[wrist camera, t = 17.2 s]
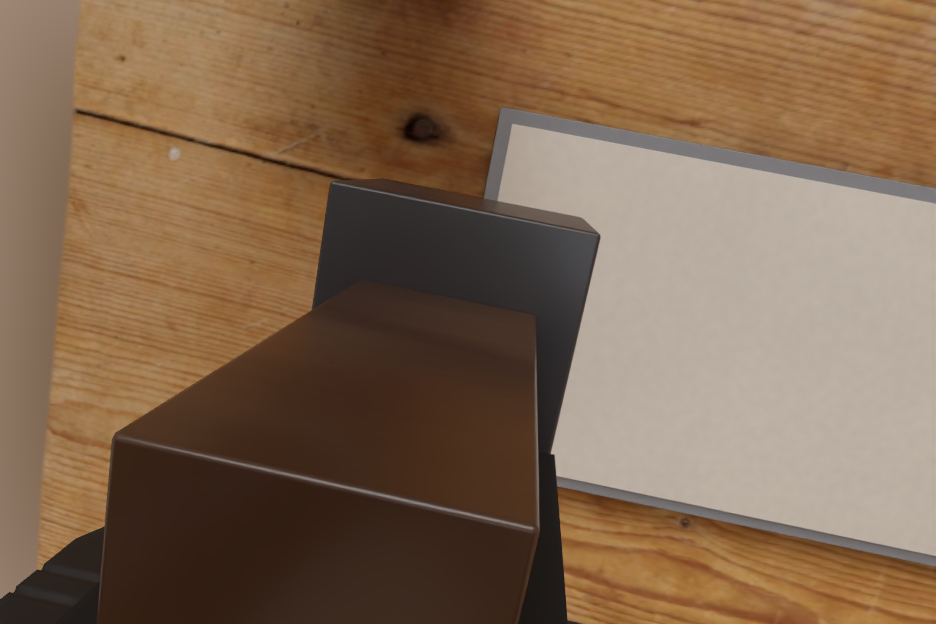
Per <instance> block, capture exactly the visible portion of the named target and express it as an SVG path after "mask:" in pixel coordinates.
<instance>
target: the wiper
mask: <svg viewBox="0 0 936 624" xmlns="http://www.w3.org/2000/svg"><path fill="white" fill-rule="evenodd" d="M600 239H601V236H600V234H599V233H598V232H597V231H596V230H595V229H594V228H593V227H592V226H590V225H589V224H588V223H587V222H586V221H585V220H584V219H583V218H581V217H577V216H572V215H567V214H561V213H556V212H551V211H546V210H541V209H536V208H531V207H526V206H521V205H516V204H511V203H506V202H501V201H495V200H490V199H485V198H480V197H475V196H470V195H465V194H460V193H455V192H450V191H445V190H440V189H435V188H429V187H424V186H419V185H414V184H409V183H404V182H399V181H394V180H389V179H363V180H341V181H331V183H330V187H329V194H328V201H327V208H326V215H325V222H324V229H323V235H322V242H321V249H320V256H319V263H318V270H317V277H316V284H315V291H314V298H313V305H312V310H311V311H310V312H308V313H307V314H305V315H303V316H302V317H300V318H299V319H297V320H295V321H294V322H292V323H291V324H289V325H287V326H286V327H284V328H283V329H281V330H279V331H278V332H276V333H275V334H273V335H271V336H270V337H268V338H267V339H265V340H263V341H262V342H260V343H259V344H257V345H255V346H254V347H252V348H251V349H249V350H247V351H246V352H244V353H243V354H241V355H239V356H238V357H236V358H235V359H233V360H231V361H230V362H228V363H227V364H225V365H223V366H222V367H220V368H219V369H217V370H215V371H214V372H212V373H211V374H209V375H207V376H206V377H204V378H203V379H201V380H199V381H198V382H196V383H195V384H193V385H191V386H190V387H188V388H187V389H185V390H183V391H182V392H180V393H179V394H177V395H175V396H174V397H172V398H171V399H169V400H167V401H166V402H164V403H163V404H161V405H160V406H158V407H156V408H155V409H153V410H152V411H150V412H148V413H147V414H145V415H144V416H142V417H140V418H139V419H137V420H136V421H134V422H132V423H131V424H129V425H128V426H126V427H124V428H123V429H121V430H120V431H118V432H116V433H115V435H114V437H113V439H112V445H111V457H110V469H109V481H108V493H107V505H106V517H105V529H104V541H103V553H102V565H101V577H100V589H99V601H98V613H97V624H518V623H519V619H520V614H521V610H522V606H523V602H524V597H525V593H526V589H527V584H528V580H529V576H530V572H531V567H532V563H533V559H534V554H535V550H536V546H537V542H538V537H539V533H540V520H539V467H538V451H540V452H544V453H549V454H551V450H552V446H553V442H554V438H555V433H556V429H557V425H558V420H559V416H560V412H561V407H562V403H563V399H564V394H565V390H566V386H567V381H568V377H569V373H570V368H571V364H572V360H573V355H574V351H575V347H576V342H577V338H578V334H579V329H580V325H581V321H582V316H583V312H584V308H585V303H586V299H587V295H588V290H589V286H590V282H591V278H592V273H593V269H594V265H595V260H596V256H597V252H598V247H599V243H600Z"/></svg>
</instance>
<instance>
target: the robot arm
mask: <svg viewBox="0 0 936 624" xmlns="http://www.w3.org/2000/svg"><path fill="white" fill-rule="evenodd" d="M538 467H539V520H540V533H539V537H538V542H537V546H536V550H535V554H534V559H533V563H532V567H531V572H530V576H529V580H528V584H527V589H526V593H525V597H524V602H523V606H522V610H521V614H520V619H519V623H518V624H581V623H577V622H572V621H568V620H567V609H566V596H565V583H564V570H563V557H562V544H561V531H560V518H559V505H558V492H557V479H556V466H555V455H554V454H549V453H544V452H540V451H538ZM104 529H105V527H102V528H100V529H98V530H95V531H93V532H91V533H88V534H86V535H83V536H81V537H79V538H76V539H75V540H73V541H72V542H71V543H70V544H68V545H67V546H66V547H65V548H63V549H62V550H61V551H60V552H59V553H57V554H56V555H55V556H54V557H52V558H51V559H50V560H49V561H47V562H46V563H45V564H44V566H43V568H42V570H36V571H35V572H34V573H32V574H31V575H30V576H29V577H27V578H26V579H25V580H24V581H23V582H21V583H20V584H19V585H18V586H16V590H15V592H14V593H10V592H9V593H8V594H6V595H5V596H4V597H3V598H1V599H0V624H97V613H98V601H99V589H100V577H101V565H102V553H103V541H104Z"/></svg>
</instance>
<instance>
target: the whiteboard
mask: <svg viewBox="0 0 936 624" xmlns="http://www.w3.org/2000/svg"><path fill="white" fill-rule="evenodd" d="M484 198H485V199H490V200H495V201H501V202H506V203H511V204H516V205H521V206H526V207H531V208H536V209H541V210H546V211H551V212H556V213H561V214H567V215H572V216H577V217H581V218H583V219H584V220H585V221H586V222H587V223H588V224H589V225H590V226H592V227H593V228H594V229H595V230H596V231H597V232H598V233H599V234H600V236H601V239H600V243H599V247H598V252H597V256H596V260H595V265H594V269H593V273H592V278H591V282H590V286H589V290H588V295H587V299H586V303H585V308H584V312H583V316H582V321H581V325H580V329H579V334H578V338H577V342H576V347H575V351H574V355H573V360H572V364H571V368H570V373H569V377H568V381H567V386H566V390H565V394H564V399H563V403H562V407H561V412H560V416H559V420H558V425H557V429H556V433H555V438H554V442H553V446H552V450H551V454H554V455H555V466H556V479H557V486H558V487H562V488H567V489H572V490H577V491H581V492H586V493H591V494H595V495H600V496H605V497H610V498H614V499H619V500H624V501H628V502H633V503H638V504H642V505H647V506H652V507H657V508H661V509H666V510H671V511H675V512H680V513H685V514H690V515H694V516H699V517H704V518H708V519H713V520H718V521H723V522H727V523H732V524H737V525H741V526H746V527H751V528H756V529H760V530H765V531H770V532H774V533H779V534H784V535H789V536H793V537H798V538H803V539H807V540H812V541H817V542H821V543H826V544H831V545H836V546H840V547H845V548H850V549H854V550H859V551H864V552H869V553H873V554H878V555H883V556H887V557H892V558H897V559H902V560H906V561H911V562H916V563H920V564H925V565H930V566H935V567H936V188H931V187H926V186H921V185H915V184H910V183H905V182H899V181H894V180H889V179H883V178H878V177H873V176H867V175H862V174H857V173H851V172H846V171H841V170H835V169H830V168H825V167H819V166H814V165H809V164H803V163H798V162H793V161H787V160H782V159H777V158H771V157H766V156H761V155H755V154H750V153H745V152H739V151H734V150H729V149H723V148H718V147H713V146H707V145H702V144H697V143H692V142H686V141H681V140H676V139H670V138H665V137H660V136H654V135H649V134H644V133H638V132H633V131H628V130H622V129H617V128H612V127H606V126H601V125H596V124H590V123H585V122H580V121H574V120H569V119H564V118H558V117H553V116H548V115H542V114H537V113H532V112H526V111H521V110H516V109H510V108H505V107H501V109H500V114H499V119H498V124H497V130H496V135H495V140H494V146H493V151H492V156H491V161H490V167H489V172H488V177H487V182H486V188H485V193H484Z"/></svg>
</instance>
